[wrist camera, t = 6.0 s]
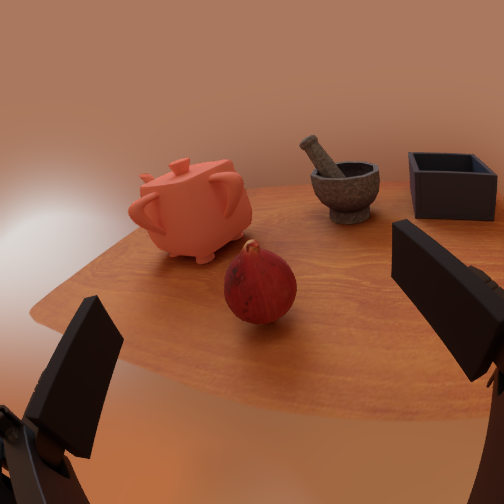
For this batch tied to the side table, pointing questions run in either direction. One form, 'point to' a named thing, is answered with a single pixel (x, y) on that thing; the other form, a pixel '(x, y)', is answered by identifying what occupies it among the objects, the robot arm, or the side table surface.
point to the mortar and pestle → (342, 184)
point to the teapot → (193, 208)
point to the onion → (259, 285)
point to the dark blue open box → (452, 186)
